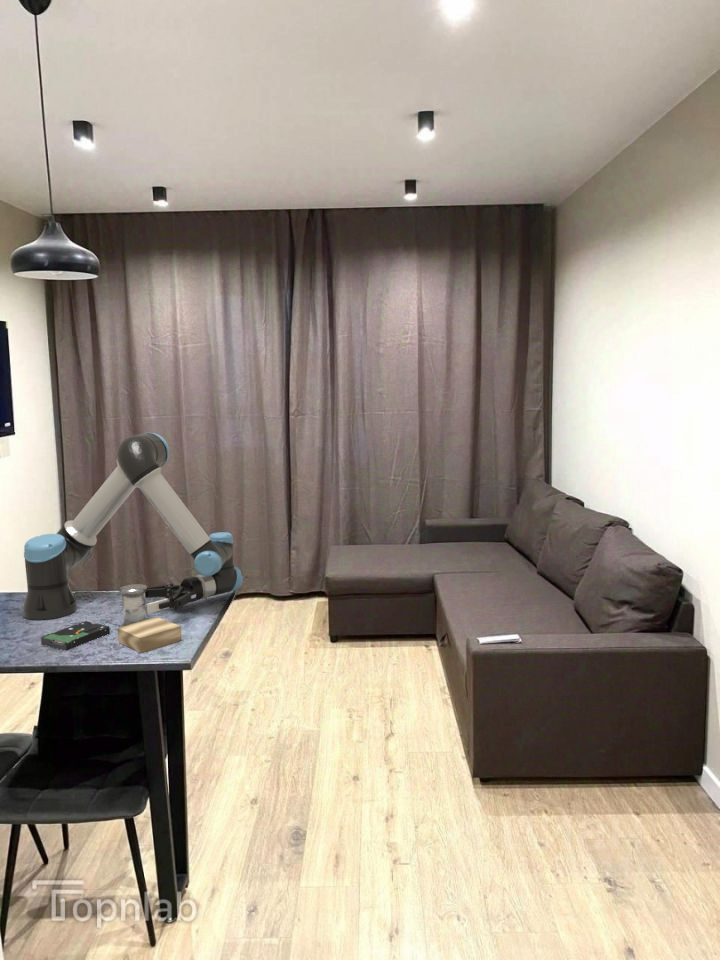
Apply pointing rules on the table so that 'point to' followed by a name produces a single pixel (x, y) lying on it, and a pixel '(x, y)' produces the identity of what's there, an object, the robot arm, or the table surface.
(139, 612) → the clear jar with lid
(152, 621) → the stand
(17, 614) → the table surface
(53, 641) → the disk drive
